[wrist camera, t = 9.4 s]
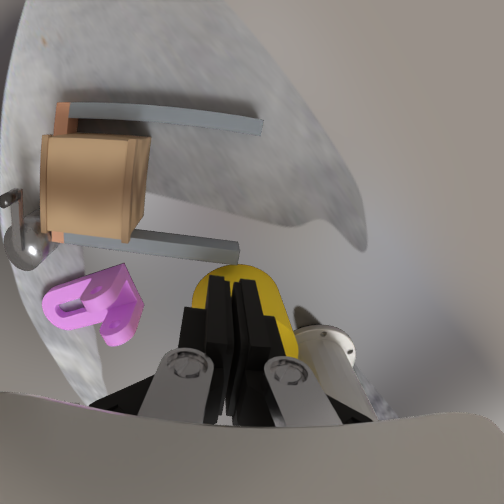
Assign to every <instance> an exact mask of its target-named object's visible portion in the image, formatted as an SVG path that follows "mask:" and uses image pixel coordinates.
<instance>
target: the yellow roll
mask: <svg viewBox="0 0 504 504" xmlns="http://www.w3.org/2000/svg"><path fill="white" fill-rule="evenodd" d="M209 275H216V276H224V280H225V281H230V292H231V295H232V289H233V283H234V282H239V280H240V278H241V279H250V280H255V281H256V285H257V289H258V294H259V298H260V302H261V306H262V311H263V315H267V316H274V317H275V319H276V322H277V326H278V329H279V333H280V336H281V340H282V343H283V347H284V350H285V354H286V356H289V357H293V358H296V359H298V353H299V350H298V344H297V341H296V338H295V335H294V332H293V330H292V327H291V324H290V321H289V319H288V316H287V313H286V310H285V307H284V304H283V301H282V299H281V296H280V293H279V290H278V288H277V286H276V284H275V282H274V281H273V280H272V278H271V277H270V276H269V275H268V274H266V273H265V272H263V271H262V270H260V269H258V268H255V267H253V266H249V265H243V264H238V265H226V266H223V267H220V268H217V269H215V270H213V271H211V272H210V273H208V274H207V275H206V276H205V277H204V278H203V279H202V280H201V281H200V282H199V283H198V285H197V287H196V289H195V291H194V294H193V298H192V308H200V309H205V304H206V296H207V288H208V280H209Z"/></svg>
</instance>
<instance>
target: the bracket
mask: <svg viewBox="0 0 504 504" xmlns="http://www.w3.org/2000/svg"><path fill="white" fill-rule="evenodd" d="M78 298H80V299H81V301H82V303H83V305H84V308H80V309H77V310H74V311H70V312H64V311H62V310H61V309H60V307H59V304H62V303H65V302H69V301H72V300H75V299H78ZM143 307H144V303H143V301H142V299H141V297H140V295H139V293H138V290H137V289H136V286H135V284H134V282H133V280H132V278H131V276H130V274H129V272H128V269H127V267H126V265H125V263H122V264H119V265H116V266H113V267H110V268H107V269H104V270H101V271H98V272H95V273H92V274H89V275H86V276H84V277H81V278H78V279H75V280H72V281H69V282H66V283H63V284H60V285H57V286H55V287H52V288H51V289H50V290H49V291H48V292H47V293H46V295H45V296H44V298H43V301H42V308H43V311H44V314H45V316H46V317H47V319H48V320H49V321H50V322H51V323H52V324H53V325H55V326H56V327H58V328H60V329H64V330H73V329H77V328H81V327H85V326H89V325H92V324H96V323H100V322H103V323H102V325H101V328H100V334H101V336H102V337H103V339H104V340H105V342H106V344H107V345H109V346H118V345H121V344H123V343H125V342H127V341H128V340H130V338H132V337H133V335H134V334H135V332H136V329H137V326H138V323H139V320H140V317H141V314H142V311H143Z"/></svg>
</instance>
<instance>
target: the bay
mask: <svg viewBox="0 0 504 504" xmlns="http://www.w3.org/2000/svg"><path fill="white" fill-rule="evenodd" d="M78 118H94V119H117V120H133V121H147V122H158V123H169V124H179V125H188V126H196V127H204V128H211V129H219V130H226V131H232V132H239V133H245V134H251V135H257V136H261V132H262V126H263V121H264V120H262V119H256V118H250V117H244V116H238V115H232V114H225V113H218V112H211V111H203V110H195V109H187V108H177V107H167V106H155V105H142V104H125V103H96V102H59V103H57V107H56V115H55V124H54V135H53V136H57V135H63V134H70V133H77V127H78ZM51 232H52V242H58V243H66V244H73V245H80V246H88V247H95V248H103V249H110V250H118V251H126V252H133V253H142V254H149V255H158V256H165V257H173V258H181V259H189V260H197V261H206V262H214V263H222V264H230V265H238V259H239V253H240V249H239V244H238V242H235V241H227V240H219V239H212V238H203V237H195V236H188V235H180V234H172V233H163V232H155V231H147V230H139V229H134V230H133V231H132V233H131V236H130V242H129V243H128V244H126V243H121V240H120V239H112V238H104V237H96V236H88V235H80V234H72V233H64V232H56V231H51Z"/></svg>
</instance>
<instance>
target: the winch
mask: <svg viewBox="0 0 504 504" xmlns="http://www.w3.org/2000/svg"><path fill="white" fill-rule="evenodd" d="M10 205H11V217H12V226H10V227H9V228H8V229H7V231H6V233H5V236H4V248H5V252H6V254H7V256H8V258H9V260H10V261H11V262H12V263H13V264H14V265H15V266H16V267H17V268H19V269H21V270H24V271H30V270H33V269H35V268H36V267H37V266H38V265H39V264H40V263H41V262H42V261H43V260H44V259H45V258H46V257H47V256H48V255H49V254H50V253H51V252H53V251H54V250H55V249H56V248H57V247H58V245H59V244H60V243H58V242H52V232H51V231H49V232H48V233H41V220H40V210H36V211H34V212H32V213H31V214H29V215H27V216H26V217H24V218H23V189H17V188H14V189H12V190H10V191H9V192H7V193H5V194H3V195H1V196H0V207H1V208H6V207H8V206H10Z"/></svg>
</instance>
